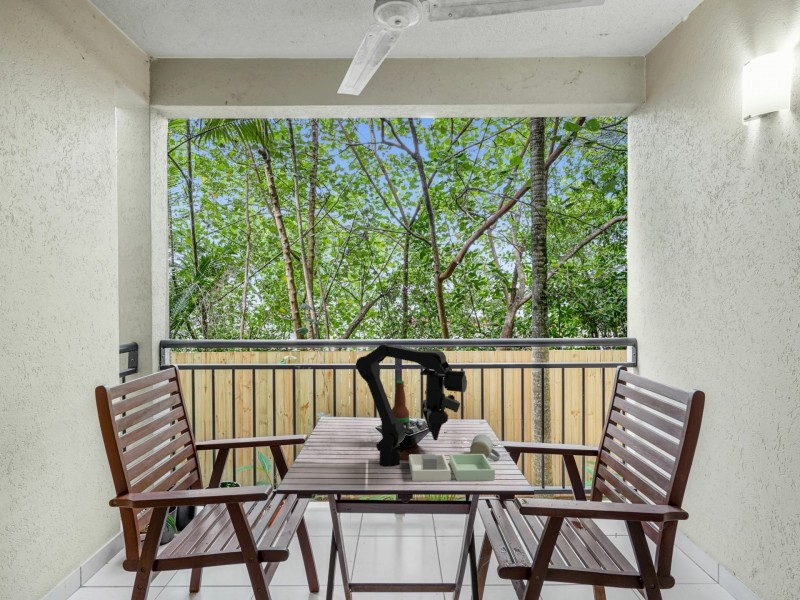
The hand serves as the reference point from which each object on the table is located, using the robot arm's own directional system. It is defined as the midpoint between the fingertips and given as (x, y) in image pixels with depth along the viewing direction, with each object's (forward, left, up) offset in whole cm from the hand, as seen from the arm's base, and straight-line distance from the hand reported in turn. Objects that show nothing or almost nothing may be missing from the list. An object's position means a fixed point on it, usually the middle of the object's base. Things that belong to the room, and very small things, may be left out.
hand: (433, 435), depth 171 cm
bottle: (-9, +31, -13) cm, 35 cm away
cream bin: (-1, -1, -12) cm, 12 cm away
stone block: (-1, -1, -12) cm, 12 cm away
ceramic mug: (+21, +15, -13) cm, 29 cm away
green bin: (+13, -1, -12) cm, 18 cm away
